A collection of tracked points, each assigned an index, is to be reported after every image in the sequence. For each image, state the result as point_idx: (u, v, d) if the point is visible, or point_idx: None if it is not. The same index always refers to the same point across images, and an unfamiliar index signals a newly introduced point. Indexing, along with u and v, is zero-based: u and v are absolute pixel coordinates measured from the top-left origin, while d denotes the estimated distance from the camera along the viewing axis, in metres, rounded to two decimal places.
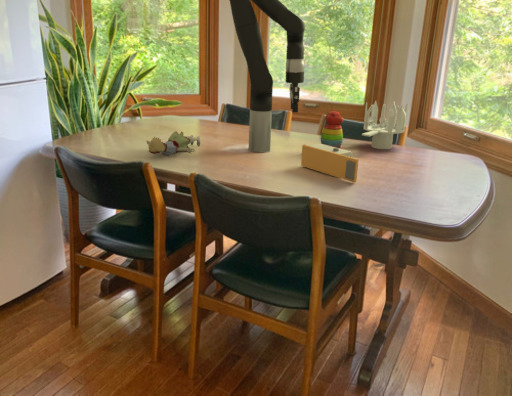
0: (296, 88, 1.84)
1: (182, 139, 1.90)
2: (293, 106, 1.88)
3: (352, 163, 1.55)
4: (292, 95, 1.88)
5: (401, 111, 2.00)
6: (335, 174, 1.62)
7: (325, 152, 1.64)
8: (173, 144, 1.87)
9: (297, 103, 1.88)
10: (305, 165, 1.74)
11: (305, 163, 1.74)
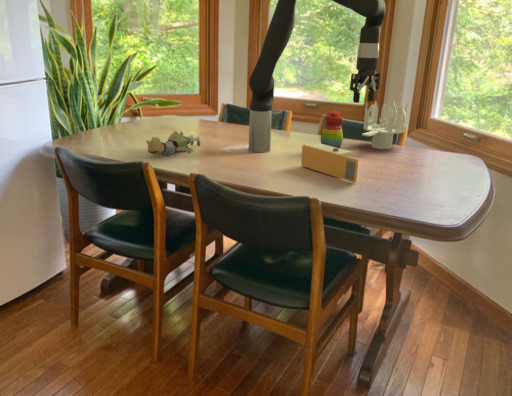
0: None
1: (182, 139, 1.90)
2: None
3: (352, 163, 1.55)
4: None
5: (401, 111, 2.00)
6: (335, 174, 1.62)
7: (325, 152, 1.64)
8: (172, 144, 1.87)
9: None
10: (305, 165, 1.74)
11: (305, 163, 1.74)
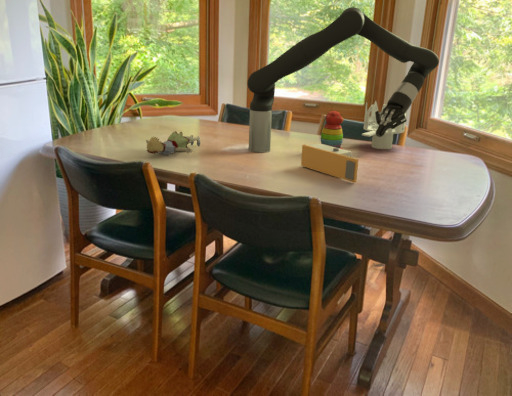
0: None
1: (181, 139, 1.90)
2: None
3: (352, 163, 1.55)
4: (385, 122, 1.67)
5: None
6: (335, 174, 1.62)
7: (325, 152, 1.64)
8: (172, 144, 1.87)
9: (380, 125, 1.65)
10: (305, 165, 1.74)
11: (305, 163, 1.74)
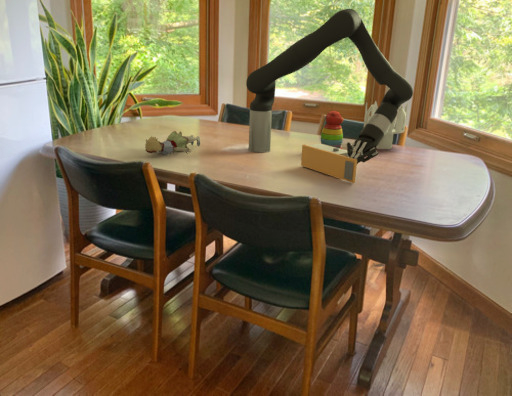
0: None
1: (180, 139, 1.90)
2: None
3: (351, 163, 1.54)
4: (356, 154, 1.62)
5: (401, 111, 2.00)
6: (334, 174, 1.62)
7: (324, 152, 1.64)
8: (171, 144, 1.88)
9: None
10: (305, 165, 1.74)
11: (305, 163, 1.74)
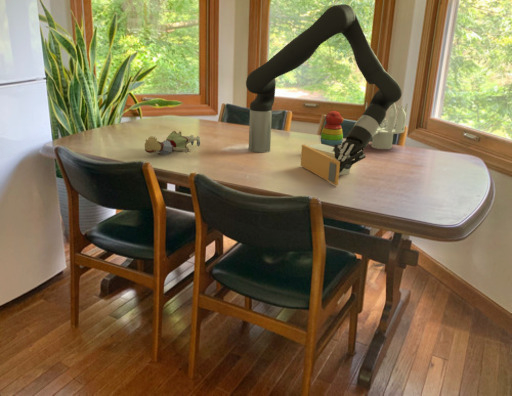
0: None
1: (180, 139, 1.90)
2: None
3: (333, 165, 1.51)
4: None
5: (401, 111, 2.00)
6: (323, 175, 1.60)
7: (316, 153, 1.63)
8: (170, 143, 1.88)
9: None
10: (303, 165, 1.74)
11: (303, 163, 1.73)
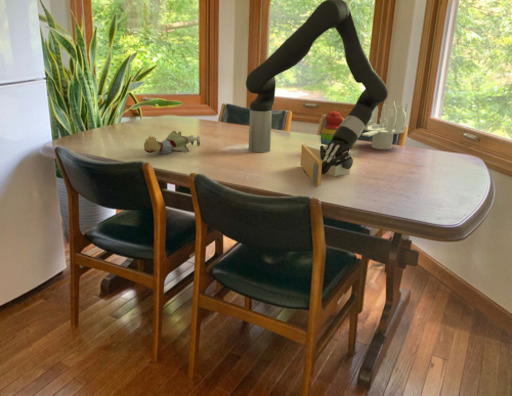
0: None
1: (179, 139, 1.91)
2: None
3: (315, 165, 1.50)
4: None
5: (401, 111, 2.00)
6: (311, 176, 1.59)
7: (308, 153, 1.62)
8: (170, 143, 1.88)
9: (324, 162, 1.54)
10: (301, 165, 1.74)
11: (301, 163, 1.74)
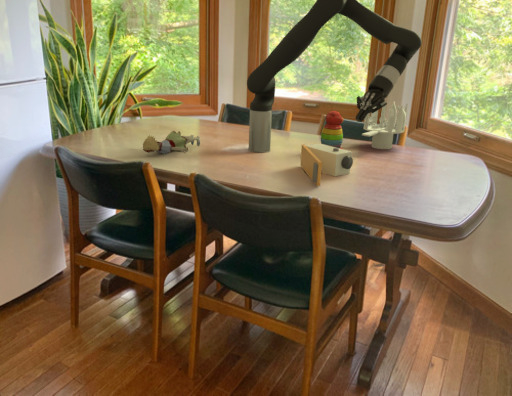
0: None
1: (179, 138, 1.91)
2: None
3: (315, 165, 1.50)
4: None
5: (401, 111, 2.00)
6: (311, 176, 1.59)
7: (308, 153, 1.62)
8: (169, 143, 1.88)
9: None
10: (301, 165, 1.74)
11: (301, 163, 1.74)
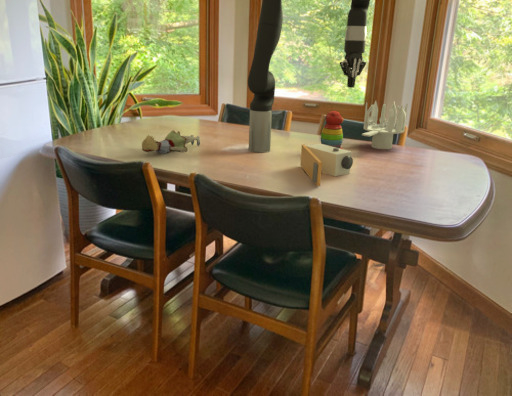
0: None
1: (178, 138, 1.91)
2: None
3: (315, 165, 1.50)
4: None
5: (401, 111, 2.00)
6: (311, 176, 1.59)
7: (308, 153, 1.62)
8: (168, 143, 1.89)
9: None
10: (301, 165, 1.74)
11: (301, 163, 1.74)
